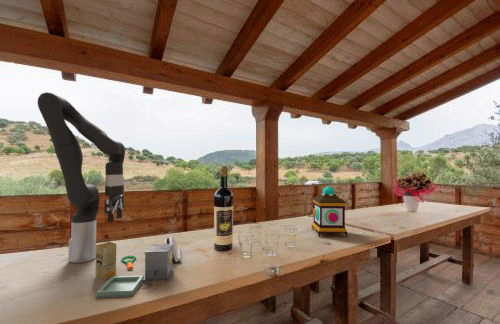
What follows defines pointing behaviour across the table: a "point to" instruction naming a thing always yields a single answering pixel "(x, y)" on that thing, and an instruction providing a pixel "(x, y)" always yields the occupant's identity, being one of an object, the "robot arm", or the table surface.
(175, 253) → the white piece
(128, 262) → the magnifying glass
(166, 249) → the box
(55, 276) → the table surface
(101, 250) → the shoe polish box
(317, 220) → the decorative lantern
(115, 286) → the tray
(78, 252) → the robot arm
